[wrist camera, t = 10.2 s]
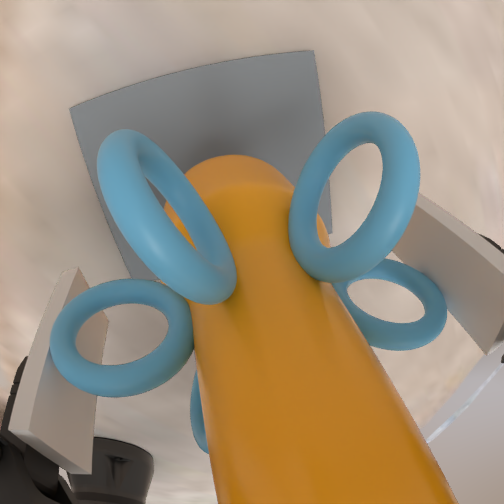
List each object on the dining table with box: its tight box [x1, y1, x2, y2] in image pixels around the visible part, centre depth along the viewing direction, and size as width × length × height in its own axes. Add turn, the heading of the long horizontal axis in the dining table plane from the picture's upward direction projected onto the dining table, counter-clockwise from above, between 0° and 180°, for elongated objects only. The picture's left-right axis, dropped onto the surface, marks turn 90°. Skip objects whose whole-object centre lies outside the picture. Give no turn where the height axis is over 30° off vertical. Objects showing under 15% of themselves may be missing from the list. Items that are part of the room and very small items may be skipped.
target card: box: [69, 50, 332, 281], centre depth 21 cm, size 16×14×1 cm
